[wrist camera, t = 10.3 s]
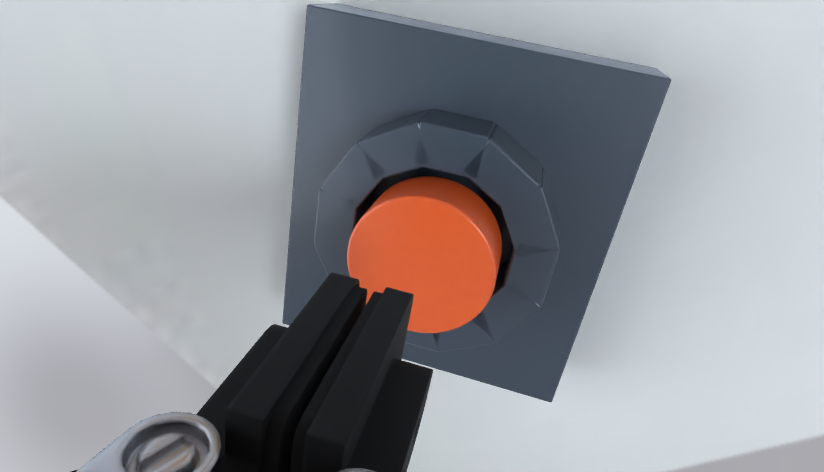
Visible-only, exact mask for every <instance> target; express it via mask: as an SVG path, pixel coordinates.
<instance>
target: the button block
mask: <svg viewBox="0 0 824 472" xmlns="http://www.w3.org/2000/svg"><path fill="white" fill-rule="evenodd" d="M670 82H671V79H670V78H669V77H667V76H666V75H664V74H663V73H662V72H660V71H659V70H658V69H656V68H651V67H646V66H642V65H637V64H632V63H627V62H622V61H617V60H612V59H607V58H602V57H597V56H592V55H587V54H582V53H577V52H572V51H568V50H563V49H558V48H553V47H548V46H543V45H538V44H533V43H528V42H523V41H518V40H513V39H508V38H503V37H499V36H494V35H489V34H484V33H479V32H474V31H469V30H464V29H459V28H454V27H449V26H444V25H439V24H434V23H429V22H425V21H420V20H415V19H410V18H405V17H400V16H395V15H390V14H385V13H380V12H375V11H370V10H365V9H360V8H355V7H351V6H346V5H341V4H336V3H335V4H310V5H307V14H306V27H305V40H304V53H303V66H302V78H301V91H300V104H299V117H298V130H297V143H296V156H295V168H294V181H293V194H292V207H291V220H290V233H289V246H288V259H287V271H286V284H285V297H284V310H283V324H287V325H291V324H292V322H293V321H294V320H295V318H296V317H297V316H298V315H299V313H300V312H301V311H302V309H303V308H304V307H305V305H306V304H307V303H308V302H309V300H310V299H311V298H312V296H313V295H314V294H315V292H316V291H317V290H318V289H319V287H320V286H321V285H322V283H323V282H324V281H325V279H326V278H327V277H328V276H329V274H330V273H332V272H334V273H337V274H341V275H345V276H349V277H350V274H349V270H348V263H347V250H348V244H349V239H350V237H351V234H352V231H353V229H354V228H355V226H356V224H357V223H358V221H359V220H360V219H361V217H362V216H363V215H364V214H365V213H366V212H367V210H368V209H369V208H370V207H371V206H372V205H373V204H374V202H375V201H376V200H377V199H378V198H379V197H380V196H381V195H382V194H383V193H384V192H385V191H386V190H387V189H389V188H390V187H391V186H393V185H395V184H397V183H399V182H401V181H404V180H407V179H410V178H415V177H423V176H432V177H440V178H446V179H449V180H452V181H455V182H457V183H459V184H462V185H464V186H465V187H467V188H469V189H470V190H472V191H473V192H474V193H476V194H477V195H478V196H479V197H480V198H481V199H482V200H483V201H484V202H485V203H486V204H487V206H488V207H489V208H490V210H491V211H492V213H493V215H494V216H495V218H496V220H497V223H498V226H499V229H500V233H501V239H502V254H501V259H500V264H499V268H498V273H497V278H496V283H495V288H494V291H493V293H492V296H491V298H490V300H489V302H488V304H487V305H486V306H485V308H484V309H483V310H482V311H481V312H480V313H479V314H478V315H477V316H476V317H475V318H474V319H472V320H471V321H470V322H468V323H466V324H464V325H463V326H461V327H458V328H456V329H453V330H450V331H446V332H440V333H419V332H413V331H409V330H407V334H406V339H405V344H404V349H403V353H402V359H406V360H409V361H412V362H416V363H419V364H423V365H426V366H429V367H433V368H436V369H439V370H443V371H446V372H450V373H453V374H456V375H460V376H463V377H467V378H470V379H473V380H477V381H480V382H484V383H487V384H490V385H494V386H497V387H501V388H504V389H507V390H511V391H514V392H517V393H521V394H524V395H528V396H531V397H534V398H538V399H541V400H545V401H548V402H552V400H553V397H554V394H555V392H556V389H557V386H558V384H559V381H560V378H561V376H562V373H563V370H564V368H565V365H566V362H567V359H568V357H569V354H570V351H571V349H572V346H573V343H574V341H575V338H576V335H577V333H578V330H579V327H580V324H581V322H582V319H583V316H584V314H585V311H586V308H587V306H588V303H589V300H590V298H591V295H592V292H593V289H594V287H595V284H596V281H597V279H598V276H599V273H600V271H601V268H602V265H603V263H604V260H605V257H606V254H607V252H608V249H609V246H610V244H611V241H612V238H613V236H614V233H615V230H616V228H617V225H618V222H619V219H620V217H621V214H622V211H623V209H624V206H625V203H626V201H627V198H628V195H629V193H630V190H631V187H632V184H633V182H634V179H635V176H636V174H637V171H638V168H639V166H640V163H641V160H642V158H643V155H644V152H645V149H646V147H647V144H648V141H649V139H650V136H651V133H652V131H653V128H654V125H655V123H656V120H657V117H658V114H659V112H660V109H661V106H662V104H663V101H664V98H665V96H666V93H667V90H668V88H669V85H670Z"/></svg>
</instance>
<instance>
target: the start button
mask: <svg viewBox="0 0 824 472" xmlns="http://www.w3.org/2000/svg"><path fill="white" fill-rule="evenodd" d="M501 254H502V239H501V233H500V229H499V226H498V223H497V220H496V218H495V216H494V215H493V213H492V211H491V210H490V208H489V207H488V206H487V204H486V203H485V202H484V201H483V200H482V199H481V198H480V197H479V196H478V195H477V194H476V193H474V192H473V191H472V190H470V189H469V188H467V187H465V186H464V185H462V184H459V183H457V182H455V181H452V180H449V179H446V178H440V177H432V176H423V177H415V178H410V179H407V180H404V181H401V182H399V183H397V184H395V185H393V186H391V187H390V188H389V189H387V190H386V191H385V192H384V193H383V194H382V195H381V196H380V197H379V198H378V199H377V200H376V201H375V202H374V204H373V205H372V206H371V207H370V208H369V209H368V210H367V212H366V213H365V214H364V215H363V216H362V217H361V219H360V220H359V221H358V223H357V224H356V226H355V228H354V229H353V231H352V234H351V237H350V239H349V244H348V250H347V263H348V270H349V274H350V277H352V278H356V279H359V283H360V286H359V287H361V288H365V289H367V299H366V304H367V302H368V301H369V299H370V297H371V296H372V294H373V292H374V291H376V292H380V293H383V292H384V290H385V288H386V287H389V288H393V289H397V290H401V291H404V292H408V293H412V294H413V295H414V297H413V304H412V309H411V314H410V319H409V324H408V329H407V330H409V331H413V332H419V333H440V332H446V331H450V330H453V329H456V328H458V327H461V326H463V325H464V324H466V323H468V322H470V321H471V320H472V319H474V318H475V317H476V316H477V315H478V314H479V313H480V312H481V311H482V310H483V309H484V308H485V306H486V305H487V304H488V302H489V300H490V298H491V296H492V293H493V291H494V288H495V283H496V278H497V273H498V268H499V264H500V259H501Z"/></svg>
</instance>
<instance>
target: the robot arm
mask: <svg viewBox="0 0 824 472" xmlns="http://www.w3.org/2000/svg"><path fill="white" fill-rule="evenodd" d="M359 286H360V283H359V279H356V278H352V277H349V276H345V275H341V274H337V273H334V272H332V273H330V274H329V276H328V277H327V278H326V279H325V281H324V282H323V283H322V285H321V286H320V287H319V289H318V290H317V291H316V292H315V294H314V295H313V296H312V298H311V299H310V300H309V302H308V303H307V304H306V305H305V307H304V308H303V309H302V311H301V312H300V313H299V315H298V316H297V317H296V318H295V320H294V321H293V322H292V324H291V325H290V326H289V327H288V328H286V327H283V326H279V325H276V324H275V325H271V326H270V327H269V328H268V329H267V330H266V331H265V332H264V334H263V335H262V336H261V337H260V338H259V340H258V341H257V342H256V343H255V344H254V346H253V347H252V348H251V349H250V351H249V352H248V353H247V354H246V355H245V357H244V358H243V359H242V360H241V361H240V363H239V364H238V365H237V366H236V367H235V369H234V370H233V371H232V372H231V373H230V375H229V376H228V377H227V378H226V379H225V381H224V382H223V383H222V384H221V385H220V387H219V388H218V389H217V390H216V391H215V393H214V394H213V395H212V396H211V397H210V399H209V400H208V401H207V402H206V404H205V405H204V406H203V407H202V408H201V410H200V411H199V412H198V413H197V414H196V415H195V414H191V413H184V412H183V413H181V412H171V413H164V414H158V415H155V416H152V417H150V418H147V419H144V420H142V421H140V422H139V423H137V424H135V425H134V426H132V427H131V428H129V429H128V430H127V431H125V432H124V433H123V434H121V435H120V436H119V437H118V438H117V439H115V440H114V441H113V442H112V443H111V444H109V445H108V446H107V447H106V448H104V449H103V450H102V451H101V452H99V454H97V455H96V456H95V457H93V458H92V459H91V460H90V461H89V462H87V463H86V464H85V465H84V466H83V467H81V468H80V469H78V470H75V471H72V472H406V471H407V468H408V464H409V461H410V458H411V454H412V451H413V447H414V444H415V440H416V437H417V433H418V430H419V426H420V422H421V419H422V415H423V411H424V407H425V403H426V399H427V394H428V390H429V386H430V382H431V377H432V373H433V369H429V368H426V367H422V366H419V365H415V364H412V363H408V362H405V361H401V358H402V353H403V349H404V344H405V339H406V334H407V329H408V324H409V319H410V314H411V309H412V304H413V297H414V295H413V294H412V293H408V292H404V291H401V290H397V289H393V288H389V287H386V288H385V290H384V292H383V293H380V292H376V291H374V292H373V294H372V296H371V297H370V299H369V301H368V302H367V304H366V299H367V289H365V288H361V287H359Z"/></svg>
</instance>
